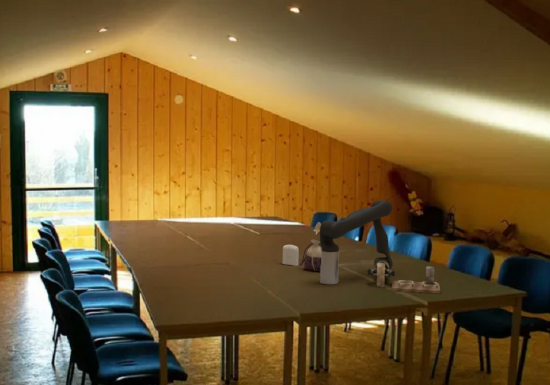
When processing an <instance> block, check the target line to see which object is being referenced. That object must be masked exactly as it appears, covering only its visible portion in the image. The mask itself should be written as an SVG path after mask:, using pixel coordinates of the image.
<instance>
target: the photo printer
mask: <svg viewBox="0 0 550 385" xmlns="http://www.w3.org/2000/svg"><path fill="white" fill-rule="evenodd" d="M299 251H300V250H299V247H298V246H296V245H294V244H285V245H283V246H282V265H286V266H287V265H288V266H293V267H294V266H295V267H297V266H299V255H300V254H299Z"/></svg>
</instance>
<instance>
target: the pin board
mask: <svg viewBox="0 0 550 385" xmlns="http://www.w3.org/2000/svg"><path fill="white" fill-rule="evenodd" d="M425 269H426V270H425V281H422V282H421V281H413V280H404V279H403V280H400V279H399V280H392V283H391V292H405V293H418V292H422V293H421V294H423V293H424V294H435V293H437V294H439V295H440V294H441V287H440V283H439V282H437V281H435V267H434V266H425Z"/></svg>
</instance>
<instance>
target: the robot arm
mask: <svg viewBox="0 0 550 385" xmlns="http://www.w3.org/2000/svg"><path fill="white" fill-rule="evenodd" d="M393 210H394V209H393V204H392V203H391V202H390V201H388V200H385V199H384V200H383V199H382V200H375V201H373V202H372V203H371V205H370V207H364V208H360V209H357V210H354V211H352V212H350V213H349V214H348V215H346V218H345V219H343V220H340V221H335V220H333V221H332V220H324V221H323V222H321V226H320V232H319V242H320V244H319V245H320V246H321V249H322V251H321V269H320V272H319V273H320V275H319V278H320V279H319V283H320V284H324V285H337V284H339V265H340V264H339V258H340V256H339V255H340V247H339V245H338V244H337V243H336V242H335V241H334V240H336V239H340V238H341V237H343V236H344V235H346V234H347V233H350V232H352V231H353V230H354V231H355V230H356V229H359V228H361V227H364V226H365V225H367V224H369V223H372V224H373V227H374V233H375V243H376V244H375V245H376V246H375V248H376V252H377V253H378V254H383V255H385V256H383V257H376V258H375V259H374V261H373V265H374V268H373V269H372V268H371V267H369V268H367V275H368V276H369V275H370V276H371V277H374V276H377V263H384V264H385V277H387V278H390V277H392V276H393V277H395V275H396V273H395V272H396V271H395V270H396V269H394V268H393V265H394V262H393V260H392V259H393V258H392V257H391V254H390V246H389V244H390V242H389V238H388V234H387V231H386V230H385V227H384V225H383V223H382V218H384V217H385V218H386V217H388V216H390V215H391V213H392V211H393ZM392 268H393V269H392Z"/></svg>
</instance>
